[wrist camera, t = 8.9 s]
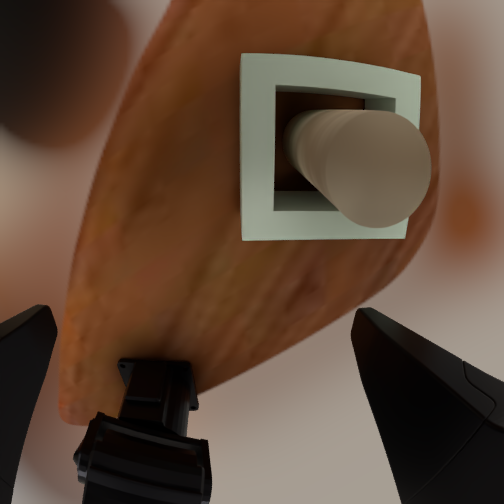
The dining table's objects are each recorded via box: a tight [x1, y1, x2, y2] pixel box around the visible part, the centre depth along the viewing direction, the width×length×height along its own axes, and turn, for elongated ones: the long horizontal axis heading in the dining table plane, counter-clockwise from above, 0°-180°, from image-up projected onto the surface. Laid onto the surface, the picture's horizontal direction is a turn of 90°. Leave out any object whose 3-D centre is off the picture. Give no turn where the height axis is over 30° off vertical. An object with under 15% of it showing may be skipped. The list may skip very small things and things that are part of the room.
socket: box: [240, 53, 421, 241], centre depth 16 cm, size 9×9×4 cm
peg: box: [282, 110, 431, 228], centre depth 13 cm, size 4×4×9 cm
